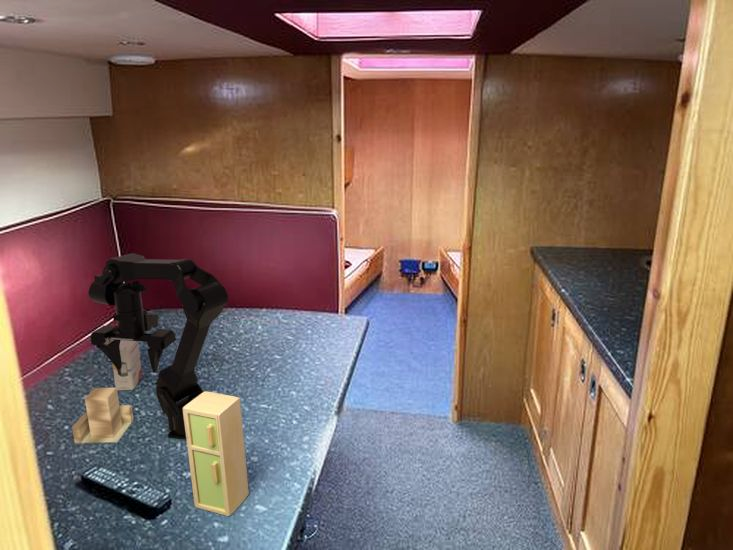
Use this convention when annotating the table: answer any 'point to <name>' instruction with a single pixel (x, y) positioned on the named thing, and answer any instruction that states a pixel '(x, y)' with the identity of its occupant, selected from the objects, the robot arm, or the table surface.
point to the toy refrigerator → (216, 452)
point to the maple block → (103, 412)
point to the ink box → (128, 366)
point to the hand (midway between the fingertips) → (137, 370)
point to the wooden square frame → (84, 436)
